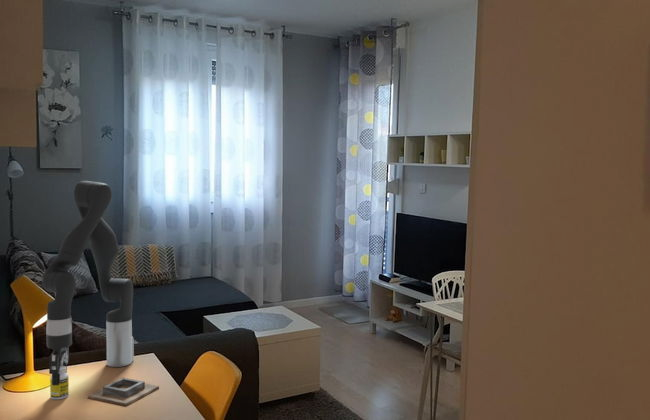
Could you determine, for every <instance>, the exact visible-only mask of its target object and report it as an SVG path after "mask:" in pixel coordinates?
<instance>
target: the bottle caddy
mask: <svg viewBox="0 0 650 420" xmlns="http://www.w3.org/2000/svg"><path fill="white" fill-rule="evenodd" d="M158 389H160V386H159V385H156V384H152V383H151V384H150V383H146V382H145V381H143V380H138V379H133V378H128V377H121V378H119V379H117V380H115V381H113V382H111V383H109V384H106V385H104V386H102V388H100V389H98V390H96V391H94V392H92V393H90V394H88V395H87V399H92V400H96V401H101V402H105V403H106V402H107V403H110V404H116V405H120V406H124V407H127V406H130V404H132V403H134V402H137V401H138V400H140V399H142V398H144V397H145V396H147V395H150V394H152V393H153V392H155V391H157V390H158Z"/></svg>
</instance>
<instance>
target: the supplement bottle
mask: <svg viewBox="0 0 650 420" xmlns="http://www.w3.org/2000/svg"><path fill="white" fill-rule="evenodd" d="M54 370H56V367H55V368H54ZM49 379H50V380H49V382H50V383H49V384H50V388H49V389H50V391H49V392H50V395H49V396H50V399H52V400H63V399H66V398H67V397H68V396H69V387H70V386H69V379H70V378H69V374H68V372H67V373H66V366H62V367H61V369H60V384H59V385H52V374H50V378H49Z"/></svg>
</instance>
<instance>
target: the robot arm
mask: <svg viewBox="0 0 650 420" xmlns="http://www.w3.org/2000/svg"><path fill="white" fill-rule="evenodd" d="M73 189H74V191H73V197H74V202H75V205H76V207H77V210H78V212H79V215H80V217H81V220H80V222H79V223H78V224H76V225H75V226H74V227H73V228H72V229H71V230H70V231H69V232H68V233H67V235H65V237H64V239H63V241H62V243H61V245H60V248H59V250H58V253H57V255H56V257H55V258H54V259H53V260H52V262H51V263H50V265H49V266H48V267H47V269H46V270H45V272H44V274H43V276H42V281H41V282H42V283H41V284H42V288H43V289H44V290H45V291H47V292H51V293H55V296H54V299H52V300H50V301H48V302H47V306H46V318H47V319H46V320H47V321H46V327H45V328H46V338H45V339H46V348H48V349H51V350H52V352H51V354H49V357H48V359H49V363H48V365H49V371H48V373H49V375H52V385H59V384H60V369H61V367H62V366H66V373H68V371H67V370H68V367H67V366H68V363H69V360H70V351H69V347H70V346H72V344H73V323H72V315H71V314H72V307H71V306H72V302H73V300H74V299H73V298H74V294H75V291H76V288H77V287H76V286H77V283H76V278H75V276H74V274H72V273H71V272H70V271H69V269H71V268H73V267H77V266H78V264H79V263H80V261H81V259H82V256H83V254H84V251H85V249H86V246H87V244H89V246H90V251H91V253H92V256H93V261H94V263H95V264H94V265H95V266H96V267H95V268H96V271H97V276H98V277H97V278H98V283H99V284H98V285H99V288H100V295H101V297H102V300H103V301H104V302H106V303H114V304H115V303H116V304H117V303H118V304H119V303H120V304H119V307H118V308H116V309H114V310H110V311H108V312H107V313H106V317H105V318H106V320H105V322H106V323H105V325H106V366H107V367H111V368H119V367H122V368H123V367H126V366H128V365H131V364H132V363H133V361H135V359H134V356H135V352H134V350H135V348H134V347H135V346H134V342H135V341H134V336H133V327H132V326H133V325H132V324H133V322H132V321H133V320H132V319H133V303H134V302H133V301H134V299H133V298H134V284H133V282H132V280H131V279H130V278H114V277H113V276H112V266H113V265H114V263H115V262H116V259H117V257H118V255H119V252H120V250H119V249H120V248H119V244H118V240H117V236H116V233H115V232H114V231H113V229H112V228H111V227H110V225H109V224H108V223H107V222H106V221H105V219H104V218H103V216H104V214H105V212H106V211H107V209H108V207H109V205H110V203H111V200H112V195H113V193H112V189H111V187H110V186H109V184H107V183H104V182H99V181H89V180H81V181H79V182H78V181H77V183H76V184H75V186H74V188H73ZM88 242H89V243H88ZM55 367H56V370H54V368H55Z"/></svg>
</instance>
